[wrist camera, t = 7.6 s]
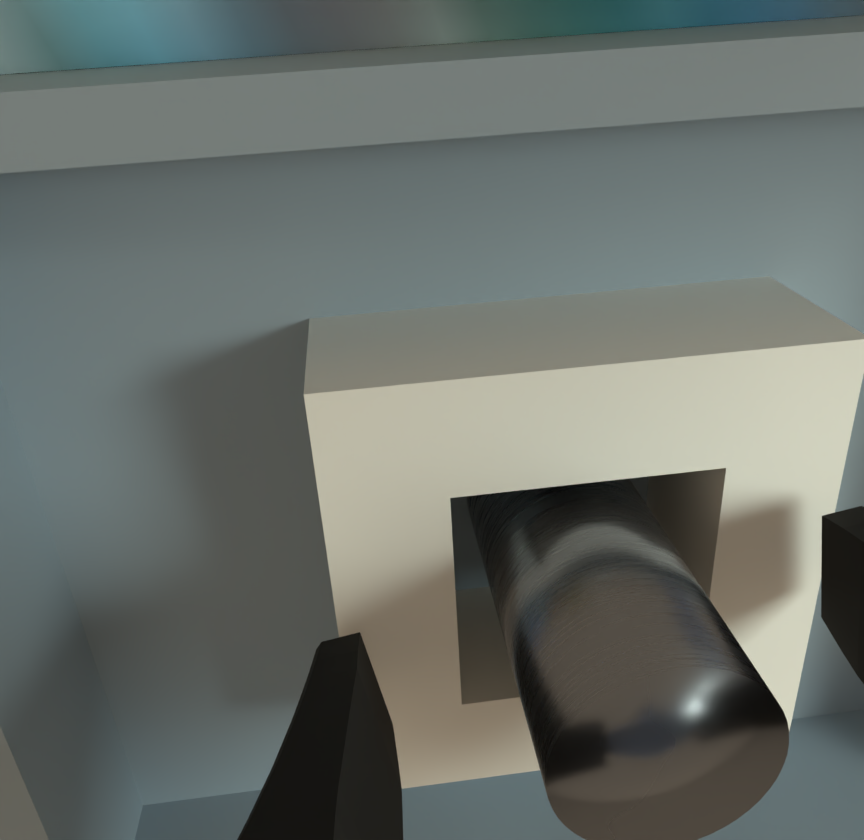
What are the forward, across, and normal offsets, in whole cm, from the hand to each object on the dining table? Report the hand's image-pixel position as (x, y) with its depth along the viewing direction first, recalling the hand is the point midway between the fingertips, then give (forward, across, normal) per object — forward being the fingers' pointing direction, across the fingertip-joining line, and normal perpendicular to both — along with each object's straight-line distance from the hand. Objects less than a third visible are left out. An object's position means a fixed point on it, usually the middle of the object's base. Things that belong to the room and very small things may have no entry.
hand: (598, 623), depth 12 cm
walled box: (+4, 0, 0) cm, 4 cm away
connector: (+4, 0, 0) cm, 4 cm away
